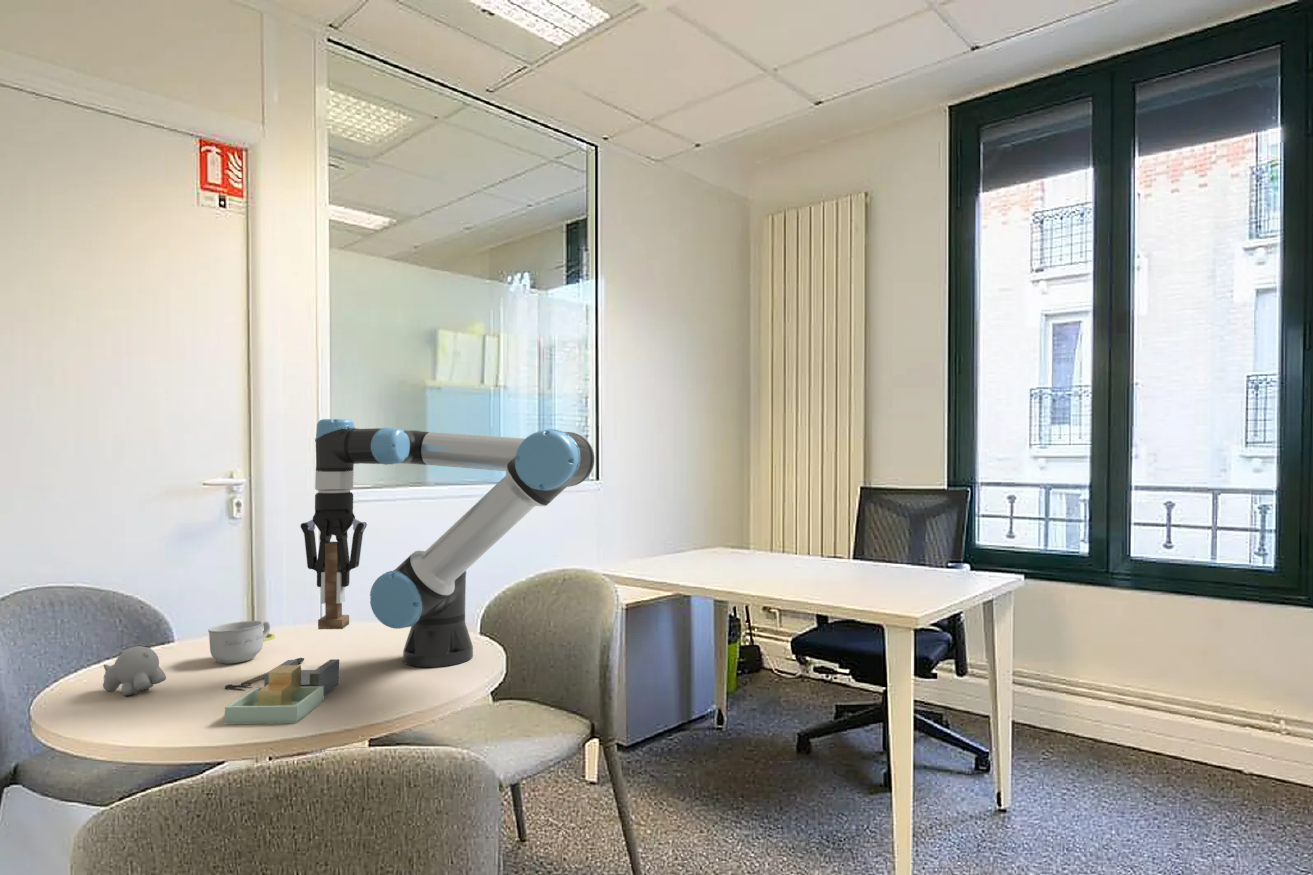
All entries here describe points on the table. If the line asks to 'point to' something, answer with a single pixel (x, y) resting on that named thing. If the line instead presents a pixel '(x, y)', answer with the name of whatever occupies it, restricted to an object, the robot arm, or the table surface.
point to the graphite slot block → (316, 675)
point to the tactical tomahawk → (252, 680)
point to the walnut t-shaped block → (332, 591)
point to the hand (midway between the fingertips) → (332, 602)
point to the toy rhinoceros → (134, 671)
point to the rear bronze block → (286, 675)
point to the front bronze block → (275, 695)
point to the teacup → (237, 640)
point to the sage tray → (274, 707)
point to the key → (271, 636)
